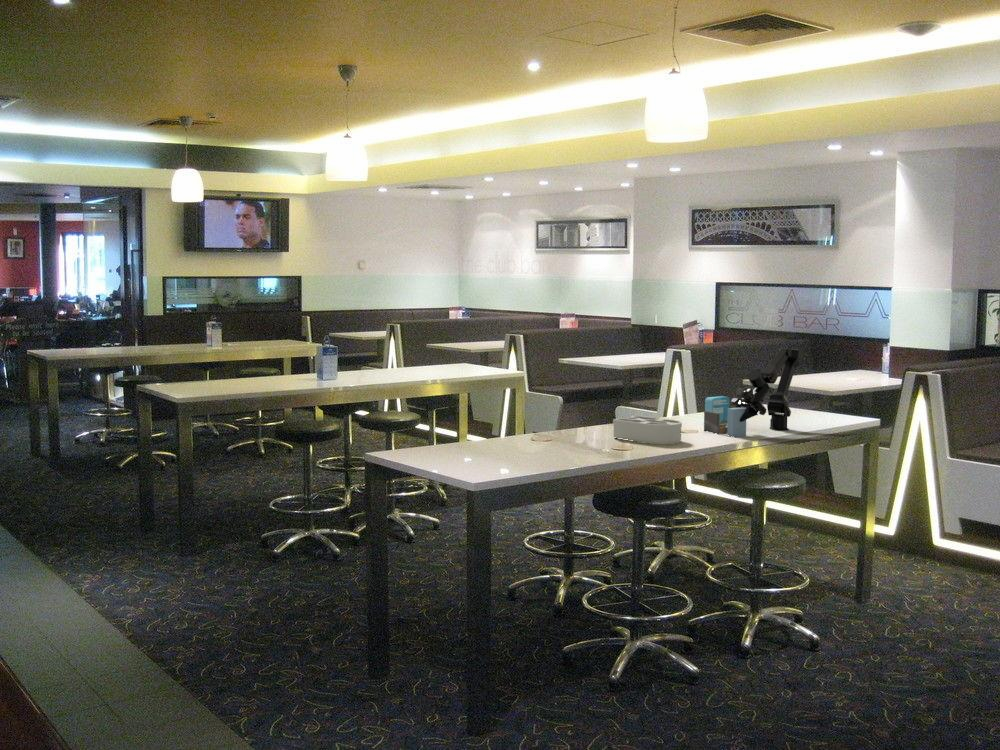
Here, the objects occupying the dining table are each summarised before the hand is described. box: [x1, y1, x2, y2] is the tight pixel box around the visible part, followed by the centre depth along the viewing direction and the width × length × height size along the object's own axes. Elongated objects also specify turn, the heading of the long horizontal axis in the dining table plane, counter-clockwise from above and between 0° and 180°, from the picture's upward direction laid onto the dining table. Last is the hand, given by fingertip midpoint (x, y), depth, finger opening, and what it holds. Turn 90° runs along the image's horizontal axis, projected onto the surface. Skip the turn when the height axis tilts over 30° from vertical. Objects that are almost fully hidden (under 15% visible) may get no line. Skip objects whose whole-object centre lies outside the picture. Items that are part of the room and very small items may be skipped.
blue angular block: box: [726, 407, 747, 438], centre depth 440 cm, size 7×4×12 cm, turn 114°
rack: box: [703, 410, 727, 435], centre depth 452 cm, size 11×10×9 cm
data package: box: [704, 395, 730, 423], centre depth 482 cm, size 12×4×12 cm, turn 125°
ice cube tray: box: [612, 415, 682, 445], centre depth 431 cm, size 17×28×9 cm, turn 44°
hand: (737, 420), depth 440 cm, fingers closed on blue angular block, 4 cm apart
